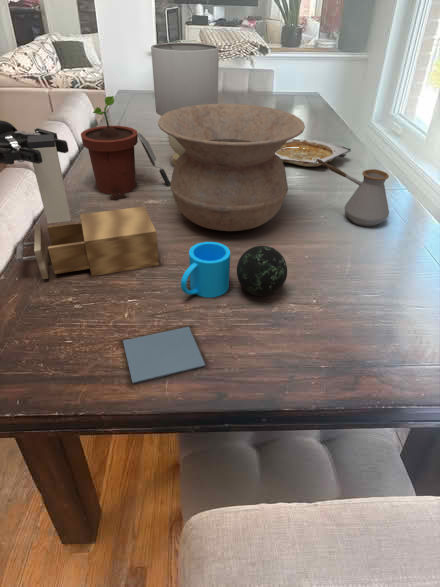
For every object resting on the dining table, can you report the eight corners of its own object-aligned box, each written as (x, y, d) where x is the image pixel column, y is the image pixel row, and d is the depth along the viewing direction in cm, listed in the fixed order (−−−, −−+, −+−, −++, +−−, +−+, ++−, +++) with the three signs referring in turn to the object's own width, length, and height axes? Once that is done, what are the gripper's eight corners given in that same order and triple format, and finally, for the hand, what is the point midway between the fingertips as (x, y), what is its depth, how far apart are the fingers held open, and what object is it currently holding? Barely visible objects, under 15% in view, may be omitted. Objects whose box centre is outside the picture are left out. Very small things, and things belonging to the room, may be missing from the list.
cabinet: (91, 276, 88) (84, 241, 83) (86, 247, 98) (79, 214, 92) (158, 265, 92) (156, 231, 87) (147, 238, 102) (144, 206, 96)
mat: (132, 384, 65) (132, 382, 65) (123, 342, 72) (122, 340, 72) (205, 366, 68) (205, 364, 68) (189, 328, 76) (188, 326, 75)
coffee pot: (385, 213, 115) (400, 160, 106) (386, 232, 106) (403, 176, 97) (308, 203, 120) (316, 151, 111) (303, 220, 111) (312, 165, 102)
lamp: (147, 166, 141) (136, 46, 120) (181, 150, 155) (177, 40, 134) (195, 178, 133) (193, 52, 112) (227, 161, 147) (231, 45, 125)
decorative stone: (281, 277, 89) (287, 237, 83) (286, 307, 81) (293, 264, 75) (235, 276, 89) (237, 235, 83) (235, 305, 81) (238, 262, 75)
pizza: (344, 176, 137) (351, 153, 154) (346, 164, 134) (353, 142, 151) (251, 165, 146) (268, 145, 163) (251, 153, 143) (268, 134, 160)
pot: (170, 191, 125) (165, 102, 110) (282, 193, 125) (293, 104, 110) (157, 249, 97) (148, 141, 82) (301, 251, 98) (318, 144, 83)
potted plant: (115, 172, 136) (104, 89, 121) (171, 184, 129) (166, 97, 114) (78, 191, 123) (60, 100, 108) (138, 206, 116) (127, 111, 101)
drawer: (20, 282, 84) (11, 254, 80) (22, 254, 93) (13, 227, 89) (108, 268, 89) (104, 241, 85) (102, 243, 98) (98, 216, 94)
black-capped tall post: (47, 223, 82) (27, 142, 73) (47, 215, 85) (27, 135, 76) (71, 221, 84) (54, 140, 74) (70, 212, 87) (53, 133, 77)
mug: (208, 270, 91) (208, 237, 86) (236, 284, 87) (238, 251, 82) (168, 294, 84) (165, 260, 79) (197, 311, 79) (196, 276, 74)
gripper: (22, 147, 88) (84, 160, 83) (-38, 168, 78) (28, 185, 72) (12, 110, 84) (77, 121, 78) (-53, 127, 73) (16, 141, 68)
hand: (53, 152), depth 75 cm, fingers closed on black-capped tall post, 6 cm apart
